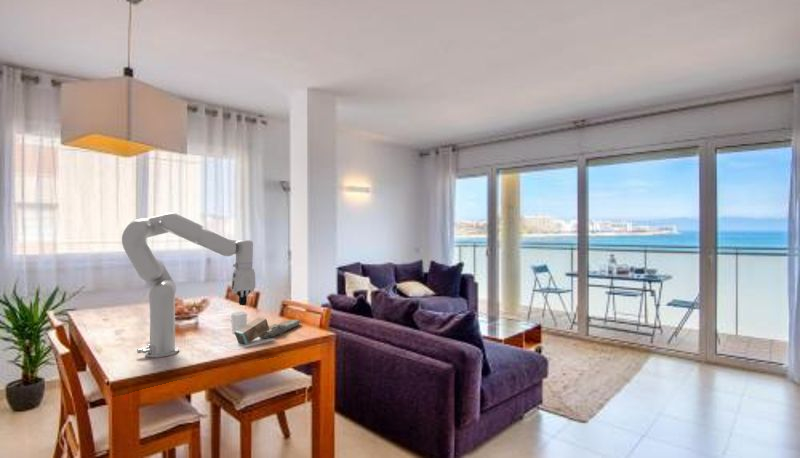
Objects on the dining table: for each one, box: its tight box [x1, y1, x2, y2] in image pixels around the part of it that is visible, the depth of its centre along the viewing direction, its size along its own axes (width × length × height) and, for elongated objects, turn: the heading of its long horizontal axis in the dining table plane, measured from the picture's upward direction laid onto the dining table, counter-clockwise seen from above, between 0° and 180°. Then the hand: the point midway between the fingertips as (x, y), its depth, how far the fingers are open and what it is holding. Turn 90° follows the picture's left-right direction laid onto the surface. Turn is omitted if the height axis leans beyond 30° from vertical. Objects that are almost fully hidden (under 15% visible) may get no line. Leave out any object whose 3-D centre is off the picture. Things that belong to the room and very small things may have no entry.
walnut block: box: [234, 316, 270, 345], centre depth 198 cm, size 6×6×14 cm
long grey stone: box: [259, 319, 301, 338], centre depth 217 cm, size 35×5×10 cm
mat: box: [221, 337, 277, 351], centre depth 196 cm, size 22×12×1 cm, turn 142°
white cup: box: [230, 311, 248, 335], centre depth 215 cm, size 8×8×10 cm
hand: (242, 304), depth 194 cm, fingers closed
